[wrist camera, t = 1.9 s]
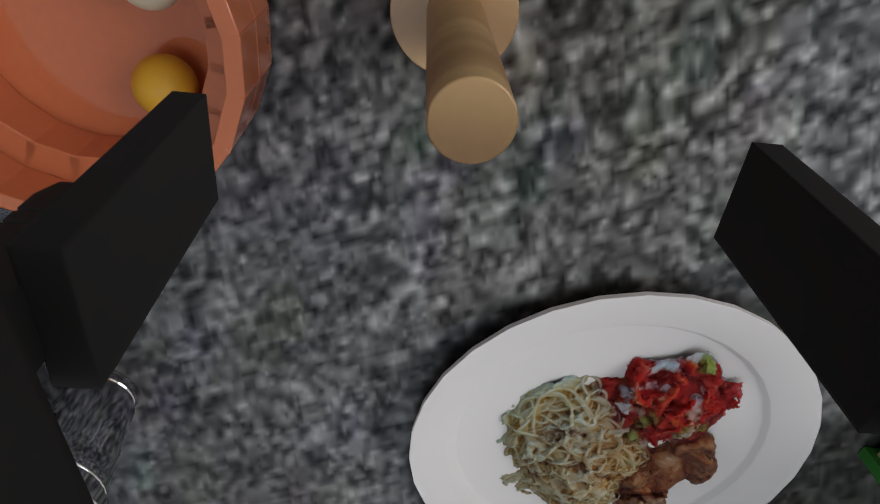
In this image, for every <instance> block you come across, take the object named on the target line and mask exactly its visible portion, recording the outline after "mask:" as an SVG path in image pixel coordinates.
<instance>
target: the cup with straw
mask: <svg viewBox="0 0 880 504" xmlns="http://www.w3.org/2000/svg"><path fill="white" fill-rule="evenodd" d="M138 402H139V392H138V389H137V388H136V386H135V385H134V384H133V382H131V381H130V380H129V379H128V378H126V377H125V376H123V375H121V374H119V373H117V372H114V371H113V372H112V374H111V375H110V377H109V379H108V380H107V382H106V384H105V385H104V387H103V389H102V390H99V389H81V388H65V389H64V390H63V391H62V392H61V393H60V395H59V396H58V397H57V398H56V399H55V400H54V401H53V403H52V404H51V408H52V410H53V412H54V414H55V417H56V419H57V421H58V423H59V426H60V428H61V430H62V432H63V435H64V437H65V439H66V441H67V443H68V446H69V448H70V450H71V452H72V455H73V457H74V459H75V461H76V464H77V466H78V468H79V470H80V473H81V475H82V477H83V479H84V482H85V484H86V486H87V488H88V490H89V493H90V495H91V497H92V499H93V502H94V504H107V496H108V493H109V483H110V480H111V477H112V475H113V472H114V469H115V466H116V463H117V461H118V458H119V455H120V452H121V450H122V447H123V444H124V441H125V438H126V436H127V433H128V430H129V427H130V424H131V422H132V419H133V416H134V413H135V407H136V405H137V404H138Z"/></svg>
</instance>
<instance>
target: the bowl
mask: <svg viewBox="0 0 880 504" xmlns="http://www.w3.org/2000/svg"><path fill="white" fill-rule="evenodd" d="M158 53H165V54H171V55H174V56H176V57H178V58H180V59H182V60H183V61H185V62H186V63H187V64H188V65H189V66H190V67H191V68H192V69H193V71H194V73H195V74H196V76H197V79H198V83H199V93H202V94H206V96H207V105H208V114H209V123H210V131H211V140H212V149H213V158H214V167H215V172H216V171H217V170H218V168H219V167H220V166H221V164H222V163H223V162H224V160H225V159H226V158H227V156H228V155H229V154H230V152H231V151H232V149H233V148H234V146H235V145H236V143H237V141H238V140H239V138H240V137H241V135H242V134H243V132H244V131H245V129H246V127H247V126H248V124H249V123H250V121H251V120H252V118H253V117H254V115H255V113H256V112H257V110H258V108H259V105H260V102H261V98H262V95H263V91H264V88H265V84H266V81H267V77H268V74H269V70H270V67H271V61H272V56H271V38H270V19H269V7H268V2H267V0H178V1H177V2H176V3H175V4H174V5H172V6H171V7H169V8H166V9H163V10H158V11H150V10H145V9H142V8H139V7H136V6H135V5H133V4H131V3H130V2H128V1H127V0H0V207H2V208H5V209H8V210H11V211H17V207H19V206H20V205H21V204H22V203H23V202H24V201H25V200H27V199H28V198H29V197H30V196H31V195H32V194H34V193H35V192H38V191H40V190H42V189H44V188H46V187H49V186H51V185H53V184H55V183H57V182H60V181H62V182H75V181H76V180H77V179H78V178H79V177H80V176H81V175H82V174H83V173H84V172H85V171H86V170H88V169H89V168H90V167H91V166H92V165H93V164H94V163H95V162H96V161H97V160H98V159H99V158H101V157H102V156H103V155H104V154H105V153H106V152H107V151H108V150H109V149H110V148H111V147H112V146H113V145H115V144H116V143H117V142H118V141H119V140H120V139H121V138H122V137H123V136H124V135H125V134H126V133H127V132H129V131H130V130H131V129H132V128H133V127H134V126H135V125H136V124H137V123H138V122H139V121H140V120H141V119H143V118H144V117H145V116H146V115H147V114H148V113H149V112H147V111H146V110H145V109H143V108H142V107H141V106H140V105H139V103H138V102H137V101H136V99H135V97H134V95H133V93H132V89H131V76H132V72H133V70H134V68H135V66H136V65H137V64H138V63H139V62H140V61H141V60H142V59H143V58H145V57H147V56H149V55H152V54H158Z"/></svg>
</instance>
